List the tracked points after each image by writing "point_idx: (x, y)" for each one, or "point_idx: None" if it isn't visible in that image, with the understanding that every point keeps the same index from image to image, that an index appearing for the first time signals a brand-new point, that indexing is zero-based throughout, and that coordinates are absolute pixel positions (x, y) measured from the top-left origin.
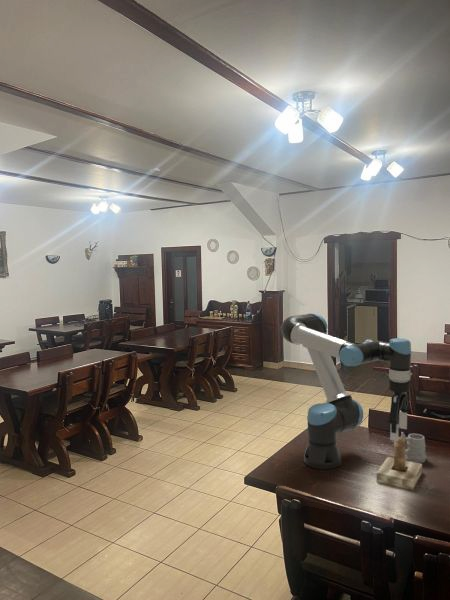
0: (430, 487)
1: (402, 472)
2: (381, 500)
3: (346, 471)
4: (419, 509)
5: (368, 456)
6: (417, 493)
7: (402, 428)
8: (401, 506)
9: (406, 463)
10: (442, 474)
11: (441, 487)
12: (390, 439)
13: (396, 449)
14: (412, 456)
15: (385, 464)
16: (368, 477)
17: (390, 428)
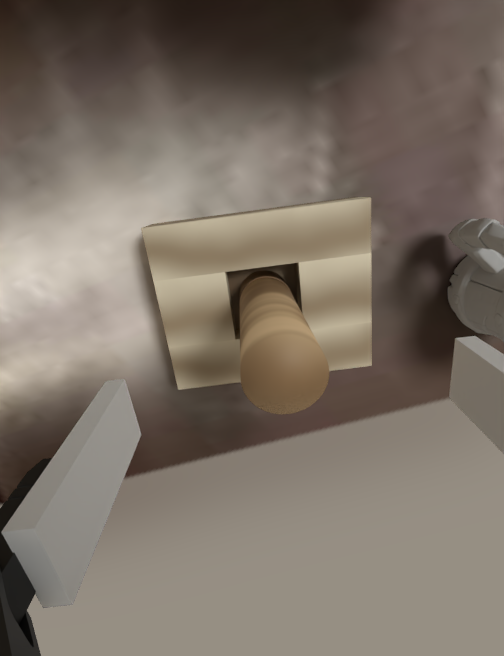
0: (249, 407)
1: (228, 328)
2: (19, 307)
3: (145, 25)
4: (71, 426)
5: (414, 48)
6: (173, 388)
7: (452, 367)
8: (40, 378)
9: (338, 309)
10: (383, 408)
11: (273, 433)
12: (103, 387)
13: (240, 336)
14: (464, 288)
15: (264, 227)
16: (165, 171)
17: (50, 463)
